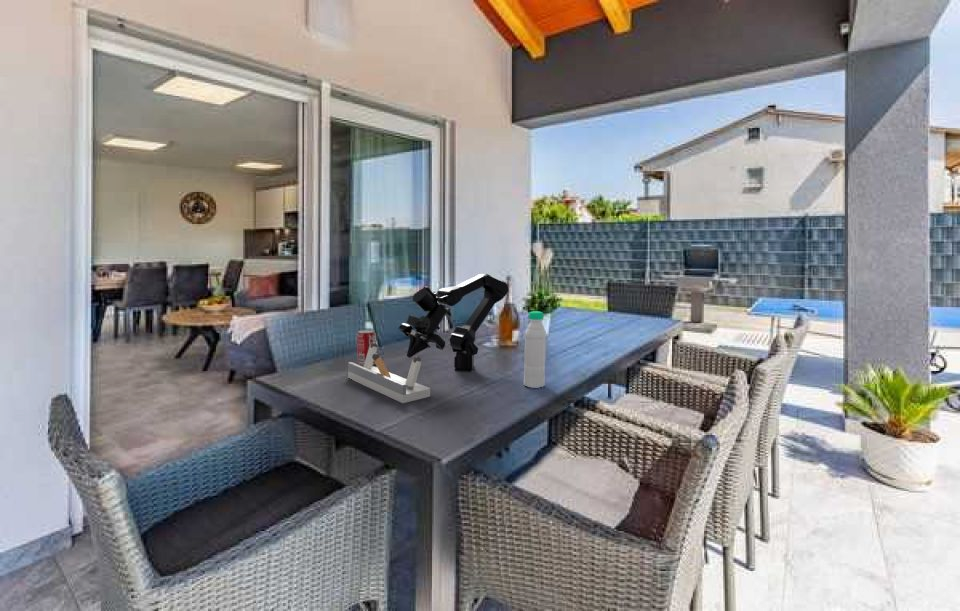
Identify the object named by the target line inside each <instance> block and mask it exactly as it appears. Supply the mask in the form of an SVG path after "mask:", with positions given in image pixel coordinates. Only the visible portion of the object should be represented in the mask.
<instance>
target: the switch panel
mask: <svg viewBox="0 0 960 611" xmlns="http://www.w3.org/2000/svg"><path fill="white" fill-rule="evenodd" d="M347 372H348V373H347V374H348V375H347V377H348V379H349V378H350V379H349V380H351V379H352V381H354V382H356V383H358V384H360V385H363V386H364V387H367V388H368V389H371V390H374V391H375V392H377V393H380V394H382V395H385V396H386V397H388V398H391V399H393V400H395V401H397V402H399V403H401V404H406V403H409V402H413V401H418V400H421V399H427V398H429V397H431V388H430V387H429V386H425V385H422V384H420V383H417V382H416V383H415V386H414V389H413V390H412V389H409V388H407V387H406V384H405V383H406V380H407V378H405V377H402V376H400V375H397V374H395V373H392V372H389V371H388V372H389V374H390V376H391V378H389V377H387V376H384V375H382V374H381V373H380V372H379V370H378V368H377V366H375V365H372V368H371V370H370V369H367V368H365V367H363V366H360V365H359V364H358V363H355V362H352V361H349V362H347Z"/></svg>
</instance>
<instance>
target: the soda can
mask: <svg viewBox="0 0 960 611" xmlns="http://www.w3.org/2000/svg"><path fill="white" fill-rule="evenodd" d="M373 342H375V343H377V335H376V333H375V330H373V329H360V330H358V331H357V334H356V354H357V365H360V366H362V367H363V366H364V363H365V360H366V356H367V353H368V350H369V346H370V345H371V343H373ZM375 365H376V364H375V362H374V361H373V365H372V366H375Z"/></svg>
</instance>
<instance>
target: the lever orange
mask: <svg viewBox="0 0 960 611" xmlns="http://www.w3.org/2000/svg"><path fill="white" fill-rule="evenodd" d="M372 358H373V360H374V362H375V364H374V365H376V366H375V367H377V368H378V370H379V372H380V373H381V374H382V375H384V376H387V377H389V378H391V376H390V374H389V371H388V369H387V367H386V364H385V363H384V361H383V359H382V357H381V355H380V354H379V353H377V352H376V353H375V354H373V356H372Z"/></svg>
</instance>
